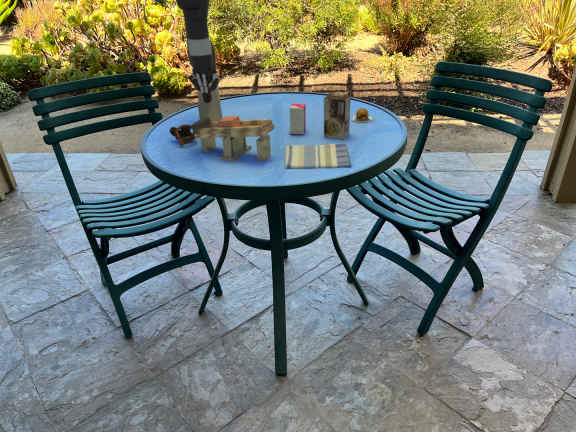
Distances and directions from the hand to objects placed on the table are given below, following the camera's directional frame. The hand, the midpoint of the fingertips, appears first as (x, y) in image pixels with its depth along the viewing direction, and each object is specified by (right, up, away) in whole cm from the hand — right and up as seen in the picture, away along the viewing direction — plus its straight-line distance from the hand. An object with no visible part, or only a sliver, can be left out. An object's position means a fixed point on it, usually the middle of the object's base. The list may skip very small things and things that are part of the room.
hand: (208, 102), depth 151 cm
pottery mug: (-13, -11, +19) cm, 25 cm away
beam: (+9, -10, +2) cm, 14 cm away
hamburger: (+62, +1, +32) cm, 70 cm away
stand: (+9, -18, +7) cm, 21 cm away
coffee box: (+49, -9, +18) cm, 52 cm away
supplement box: (+33, -7, +22) cm, 40 cm away
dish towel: (+39, -20, +2) cm, 45 cm away
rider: (+8, -9, +2) cm, 12 cm away
